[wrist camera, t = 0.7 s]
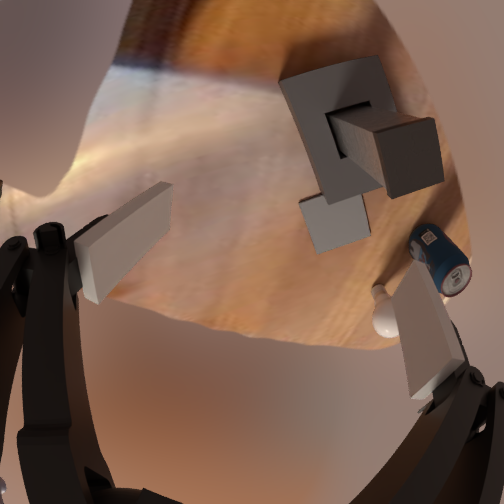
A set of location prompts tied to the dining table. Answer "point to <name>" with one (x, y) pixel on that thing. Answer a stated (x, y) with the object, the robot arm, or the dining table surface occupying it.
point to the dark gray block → (316, 126)
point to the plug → (389, 146)
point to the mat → (335, 222)
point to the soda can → (440, 259)
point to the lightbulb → (383, 313)
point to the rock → (1, 187)
